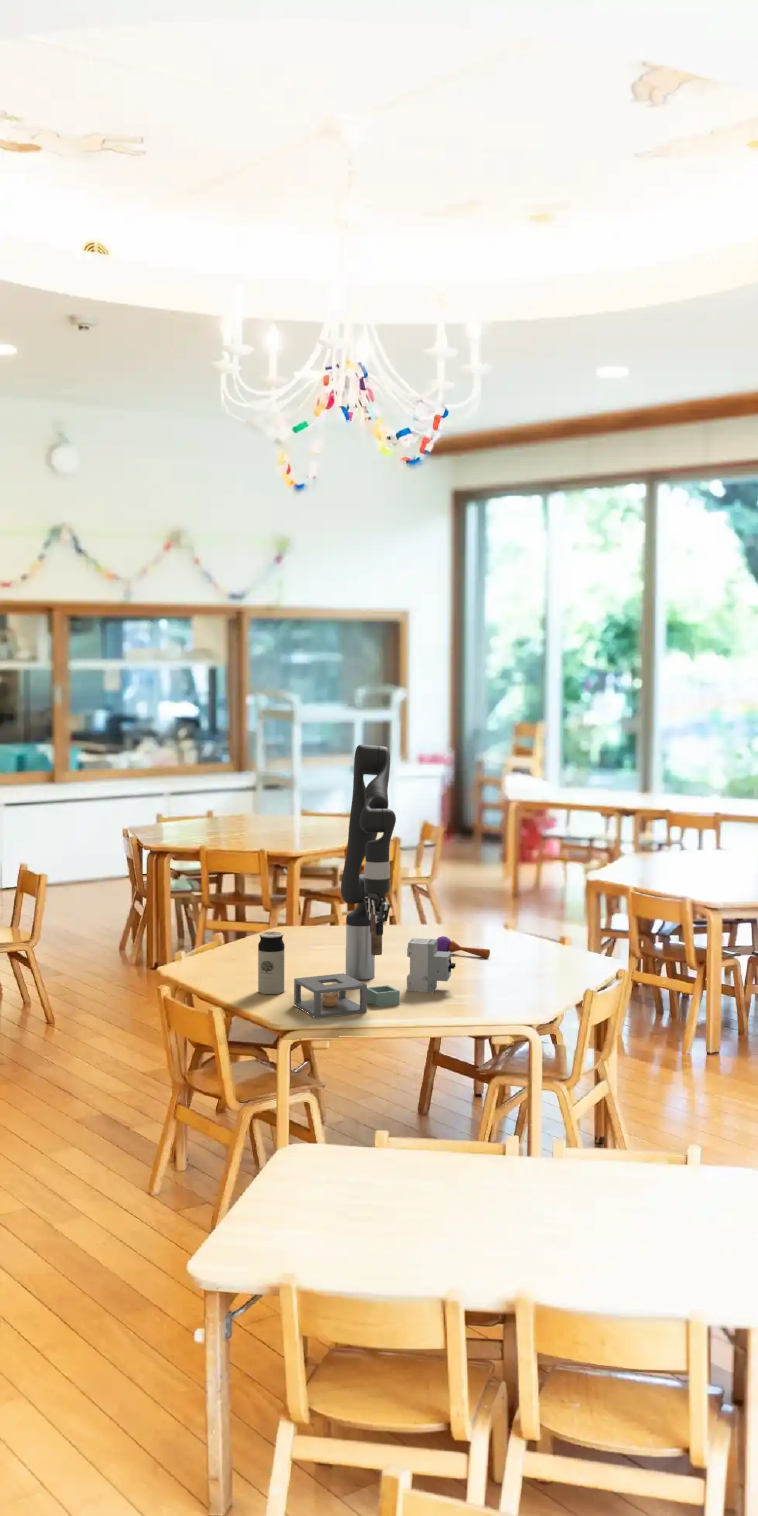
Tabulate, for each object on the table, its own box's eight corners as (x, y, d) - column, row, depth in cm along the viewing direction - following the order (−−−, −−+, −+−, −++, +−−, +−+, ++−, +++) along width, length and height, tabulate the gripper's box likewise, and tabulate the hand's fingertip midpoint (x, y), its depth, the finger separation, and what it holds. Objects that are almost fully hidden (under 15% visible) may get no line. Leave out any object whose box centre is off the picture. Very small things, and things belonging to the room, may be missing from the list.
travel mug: (268, 987, 422) (268, 930, 420) (289, 990, 418) (289, 932, 416) (253, 992, 415) (253, 934, 414) (274, 996, 411) (274, 937, 410)
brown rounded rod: (369, 953, 403) (369, 906, 402) (379, 952, 405) (379, 905, 403) (374, 955, 400) (374, 908, 399) (383, 954, 402) (383, 907, 401)
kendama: (484, 949, 461) (431, 938, 471) (484, 965, 463) (431, 954, 472) (491, 942, 466) (439, 932, 476) (491, 958, 468) (439, 948, 478)
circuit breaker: (452, 993, 415) (453, 945, 414) (406, 991, 418) (407, 942, 417) (456, 987, 423) (456, 940, 422) (411, 985, 426) (411, 938, 425)
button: (320, 1003, 397) (320, 993, 397) (333, 1002, 399) (333, 992, 399) (326, 1007, 394) (326, 997, 393) (340, 1005, 396) (340, 995, 395)
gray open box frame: (294, 1005, 400) (294, 978, 400) (343, 999, 407) (343, 973, 407) (316, 1018, 386) (316, 990, 385) (366, 1012, 393) (367, 985, 392)
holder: (365, 1001, 406) (365, 987, 406) (388, 998, 409) (388, 985, 409) (376, 1006, 399) (376, 993, 399) (399, 1004, 402) (399, 990, 402)
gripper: (399, 879, 396) (398, 937, 397) (378, 871, 408) (377, 928, 410) (375, 880, 393) (374, 939, 394) (355, 873, 405) (355, 930, 407)
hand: (376, 933), depth 402 cm, fingers closed on brown rounded rod, 3 cm apart
